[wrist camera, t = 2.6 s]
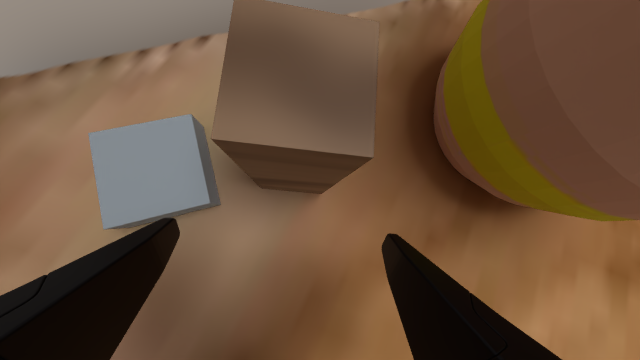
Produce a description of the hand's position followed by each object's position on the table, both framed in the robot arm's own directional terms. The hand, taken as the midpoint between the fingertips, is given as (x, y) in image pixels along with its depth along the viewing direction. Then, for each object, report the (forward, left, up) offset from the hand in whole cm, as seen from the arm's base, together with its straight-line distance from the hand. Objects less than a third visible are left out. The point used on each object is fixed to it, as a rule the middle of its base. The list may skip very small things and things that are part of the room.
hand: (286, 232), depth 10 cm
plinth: (+7, +10, -13) cm, 18 cm away
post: (+6, -2, -13) cm, 14 cm away
